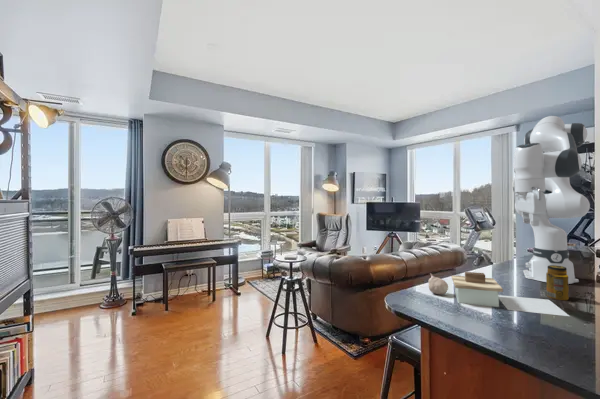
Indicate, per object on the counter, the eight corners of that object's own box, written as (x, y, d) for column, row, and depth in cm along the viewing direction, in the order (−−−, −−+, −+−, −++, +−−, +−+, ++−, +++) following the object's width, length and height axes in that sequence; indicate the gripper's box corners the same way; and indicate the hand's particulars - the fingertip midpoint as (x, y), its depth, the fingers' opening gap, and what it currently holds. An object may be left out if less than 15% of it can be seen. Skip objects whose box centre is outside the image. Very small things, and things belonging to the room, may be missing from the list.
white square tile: (496, 296, 109) (496, 294, 109) (548, 301, 103) (548, 299, 103) (507, 311, 95) (507, 309, 95) (570, 318, 89) (570, 316, 89)
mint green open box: (455, 294, 113) (454, 278, 113) (491, 297, 108) (490, 281, 108) (458, 304, 102) (458, 287, 102) (499, 308, 97) (498, 290, 97)
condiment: (573, 300, 104) (572, 266, 104) (565, 305, 100) (564, 270, 100) (547, 294, 110) (546, 263, 111) (539, 299, 106) (538, 266, 106)
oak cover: (451, 277, 114) (451, 267, 114) (493, 281, 109) (493, 270, 109) (455, 287, 102) (455, 276, 102) (502, 291, 96) (502, 279, 96)
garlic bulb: (438, 290, 118) (438, 271, 118) (451, 295, 112) (451, 274, 112) (425, 292, 116) (425, 272, 116) (437, 297, 109) (437, 276, 110)
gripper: (551, 186, 96) (553, 228, 96) (530, 187, 114) (532, 221, 114) (528, 187, 98) (529, 227, 98) (511, 188, 117) (512, 222, 117)
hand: (530, 224), depth 106 cm, fingers open, 8 cm apart
